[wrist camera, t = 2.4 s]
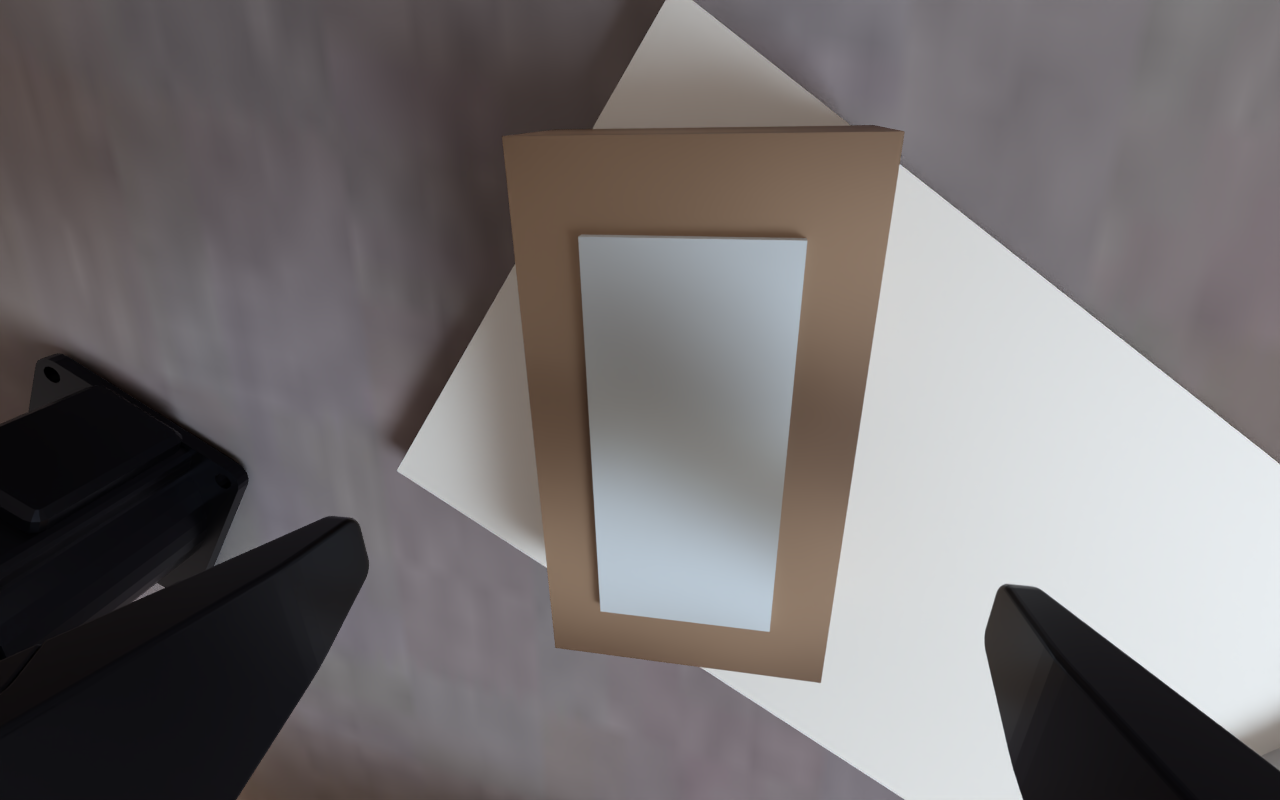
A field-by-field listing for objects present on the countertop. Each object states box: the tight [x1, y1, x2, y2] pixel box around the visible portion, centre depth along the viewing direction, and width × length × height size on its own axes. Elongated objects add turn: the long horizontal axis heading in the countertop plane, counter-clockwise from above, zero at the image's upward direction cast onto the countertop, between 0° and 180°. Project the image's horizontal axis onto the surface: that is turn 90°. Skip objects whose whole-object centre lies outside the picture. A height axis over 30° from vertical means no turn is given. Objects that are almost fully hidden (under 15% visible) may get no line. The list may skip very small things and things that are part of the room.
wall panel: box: [397, 0, 1280, 800], centre depth 15 cm, size 13×24×2 cm, turn 56°
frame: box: [502, 125, 904, 683], centre depth 13 cm, size 11×6×3 cm, turn 1°
